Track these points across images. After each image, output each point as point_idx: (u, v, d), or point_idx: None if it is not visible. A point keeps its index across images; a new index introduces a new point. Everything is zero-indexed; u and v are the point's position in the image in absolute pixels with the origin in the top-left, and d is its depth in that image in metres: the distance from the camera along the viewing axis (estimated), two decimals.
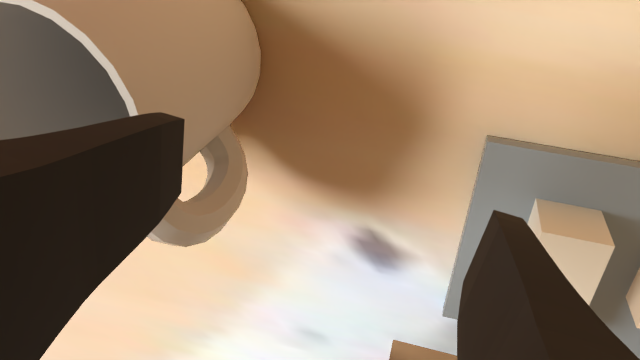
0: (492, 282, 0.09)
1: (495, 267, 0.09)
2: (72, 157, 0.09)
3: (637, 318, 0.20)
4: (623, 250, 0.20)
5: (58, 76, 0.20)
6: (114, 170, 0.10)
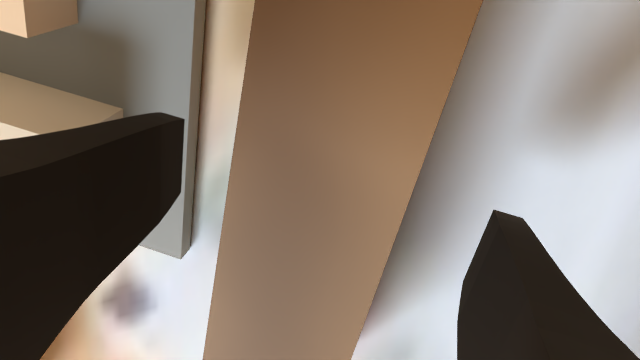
0: (492, 282, 0.09)
1: (495, 267, 0.09)
2: (72, 157, 0.09)
3: (25, 33, 0.12)
4: (11, 33, 0.14)
5: None
6: (114, 170, 0.10)
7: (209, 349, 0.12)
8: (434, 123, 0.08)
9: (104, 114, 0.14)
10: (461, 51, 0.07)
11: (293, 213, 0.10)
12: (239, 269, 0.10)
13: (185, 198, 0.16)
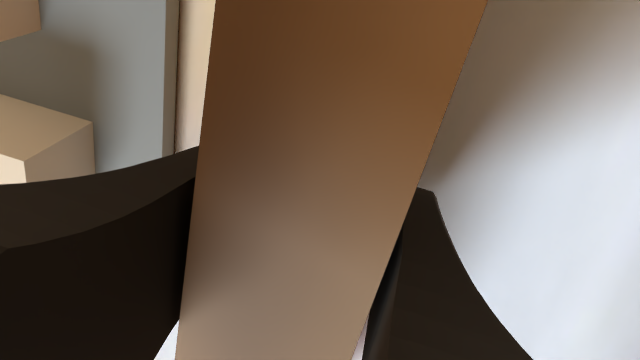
0: None
1: None
2: (175, 189, 0.08)
3: None
4: None
5: None
6: None
7: None
8: (424, 156, 0.07)
9: (71, 128, 0.13)
10: (456, 74, 0.06)
11: (265, 252, 0.08)
12: (205, 310, 0.09)
13: None
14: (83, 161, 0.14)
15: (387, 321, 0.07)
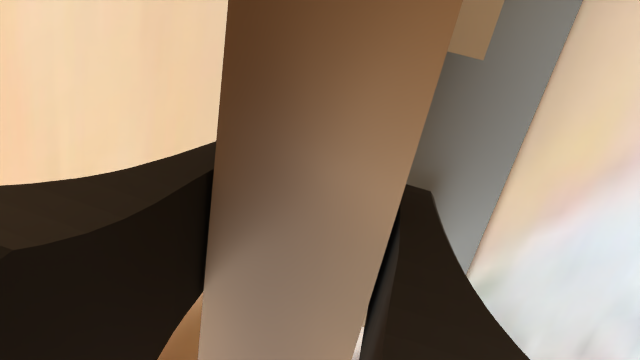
0: (388, 250, 0.10)
1: (392, 235, 0.10)
2: (178, 191, 0.08)
3: None
4: None
5: None
6: (208, 200, 0.09)
7: None
8: (422, 122, 0.08)
9: None
10: (446, 44, 0.07)
11: (280, 221, 0.09)
12: (227, 280, 0.10)
13: None
14: None
15: (383, 320, 0.07)
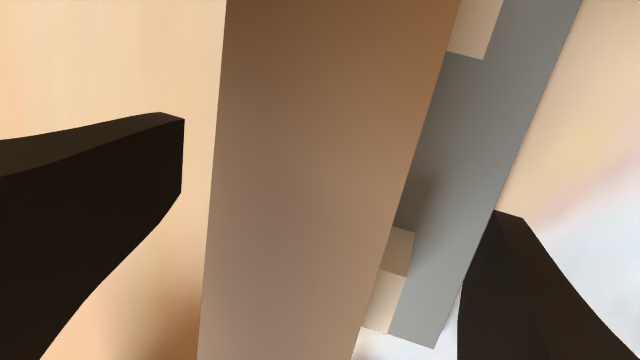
0: (492, 282, 0.09)
1: (495, 267, 0.09)
2: (72, 157, 0.09)
3: None
4: None
5: None
6: (114, 170, 0.10)
7: None
8: (420, 121, 0.08)
9: (407, 241, 0.17)
10: (445, 44, 0.07)
11: (279, 221, 0.09)
12: (226, 280, 0.10)
13: (452, 302, 0.18)
14: None
15: None
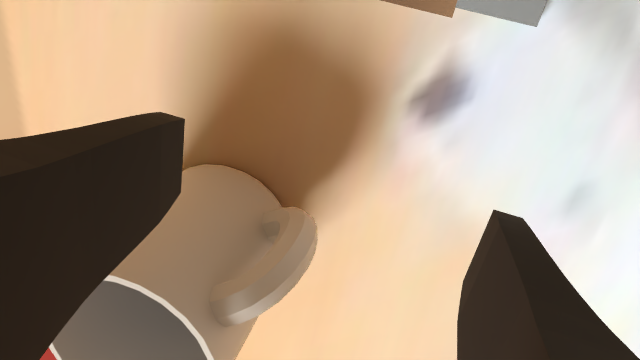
0: (492, 282, 0.09)
1: (495, 267, 0.09)
2: (72, 157, 0.09)
3: None
4: None
5: None
6: (114, 170, 0.10)
7: None
8: None
9: None
10: None
11: None
12: None
13: None
14: None
15: None
